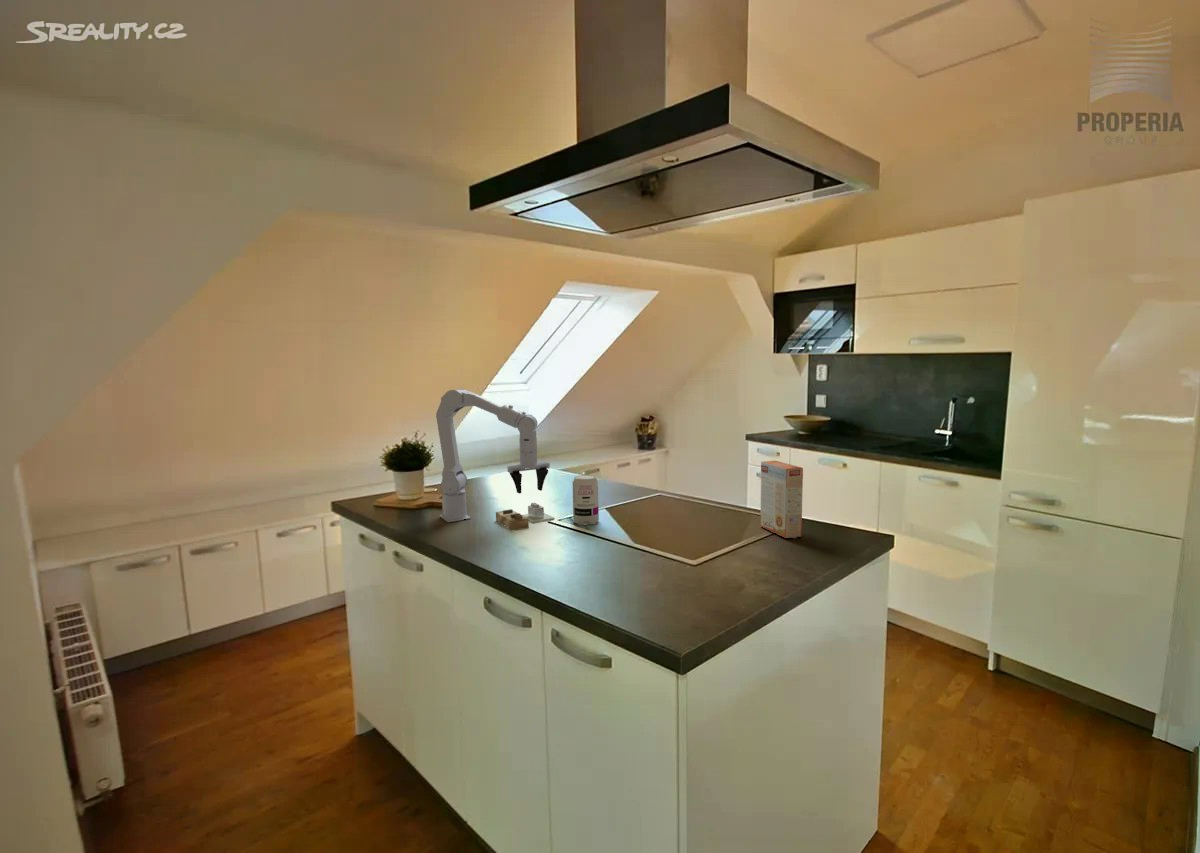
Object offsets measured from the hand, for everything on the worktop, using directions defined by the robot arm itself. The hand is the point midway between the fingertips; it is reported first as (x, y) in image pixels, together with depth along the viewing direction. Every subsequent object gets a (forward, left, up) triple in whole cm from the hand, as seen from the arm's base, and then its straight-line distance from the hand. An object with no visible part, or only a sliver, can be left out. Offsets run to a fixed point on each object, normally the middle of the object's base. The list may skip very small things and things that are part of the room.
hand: (529, 491), depth 194 cm
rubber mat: (+1, +2, -9) cm, 10 cm away
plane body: (+3, -8, -9) cm, 13 cm away
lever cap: (+1, +2, -9) cm, 9 cm away
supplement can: (+15, +13, -10) cm, 22 cm away
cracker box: (+59, +55, -10) cm, 81 cm away
